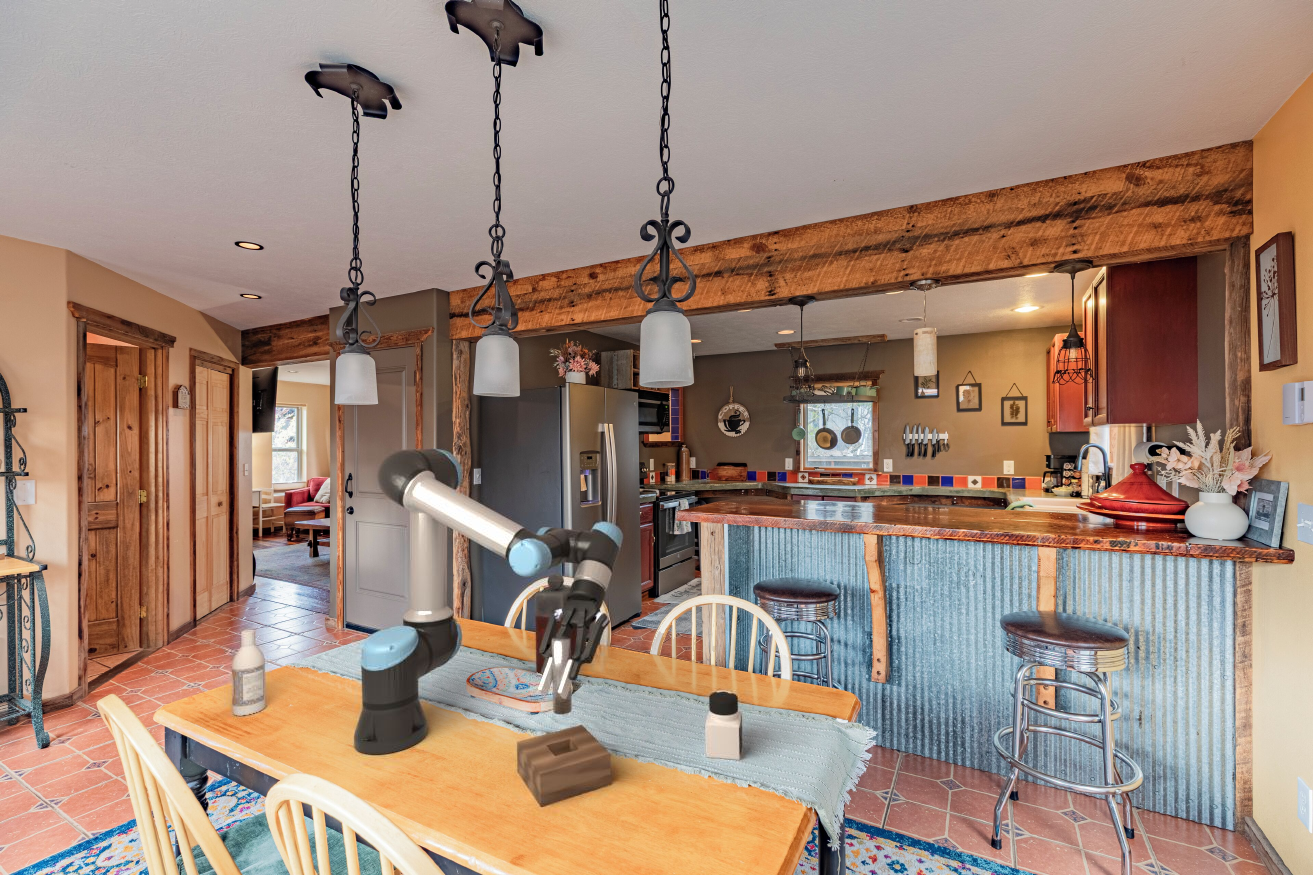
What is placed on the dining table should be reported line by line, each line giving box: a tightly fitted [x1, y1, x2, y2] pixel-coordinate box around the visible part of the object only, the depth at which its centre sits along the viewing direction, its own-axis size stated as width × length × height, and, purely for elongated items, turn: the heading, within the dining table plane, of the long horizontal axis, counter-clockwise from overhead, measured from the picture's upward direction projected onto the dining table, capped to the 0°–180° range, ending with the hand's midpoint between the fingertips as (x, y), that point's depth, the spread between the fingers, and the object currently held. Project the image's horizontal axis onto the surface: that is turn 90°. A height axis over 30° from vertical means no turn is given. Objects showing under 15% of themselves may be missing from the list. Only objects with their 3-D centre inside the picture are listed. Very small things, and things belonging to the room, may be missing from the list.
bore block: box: [516, 724, 612, 808], centre depth 121 cm, size 14×14×6 cm
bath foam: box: [231, 628, 267, 717], centre depth 155 cm, size 7×7×20 cm
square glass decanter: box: [534, 572, 578, 673], centre depth 178 cm, size 9×11×28 cm
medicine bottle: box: [704, 690, 743, 761], centre depth 130 cm, size 7×7×12 cm
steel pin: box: [552, 636, 573, 715], centre depth 121 cm, size 4×4×14 cm
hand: (552, 693), depth 117 cm, fingers closed on steel pin, 3 cm apart
